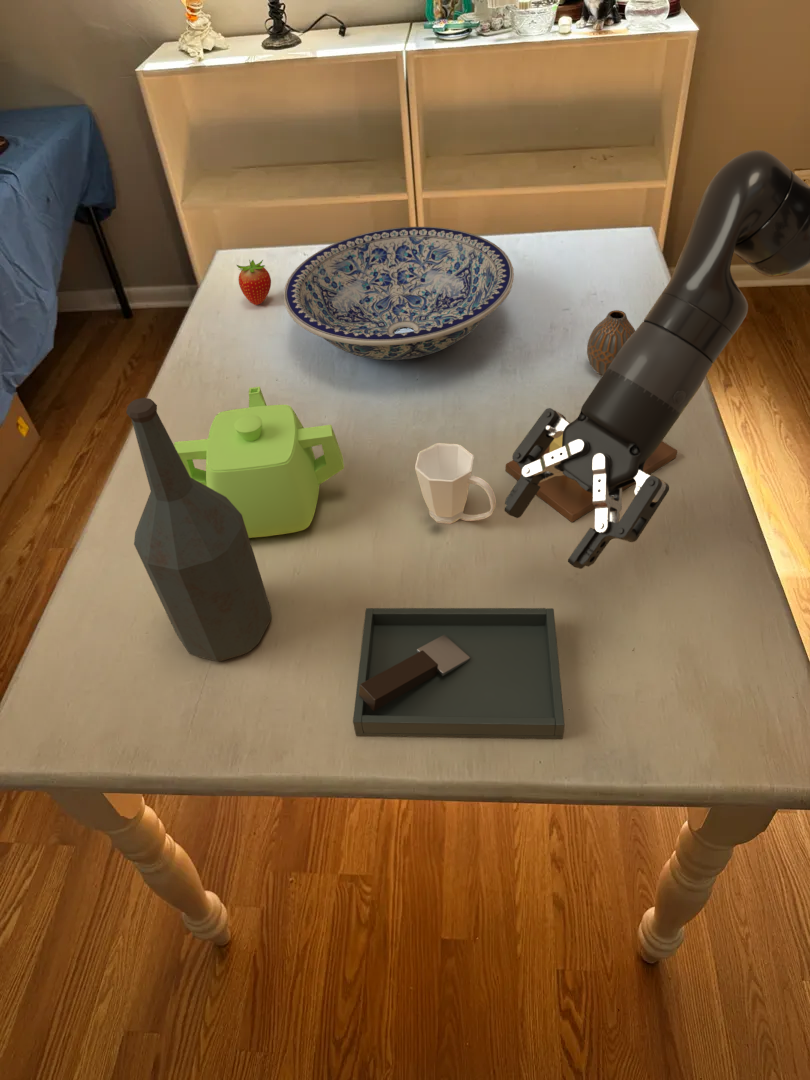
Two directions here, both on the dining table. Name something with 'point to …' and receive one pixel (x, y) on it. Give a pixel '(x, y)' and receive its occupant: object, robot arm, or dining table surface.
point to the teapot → (265, 464)
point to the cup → (449, 482)
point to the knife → (412, 672)
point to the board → (572, 496)
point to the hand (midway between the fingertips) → (541, 539)
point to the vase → (608, 340)
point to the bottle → (196, 551)
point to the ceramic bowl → (399, 290)
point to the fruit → (254, 282)
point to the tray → (466, 674)
